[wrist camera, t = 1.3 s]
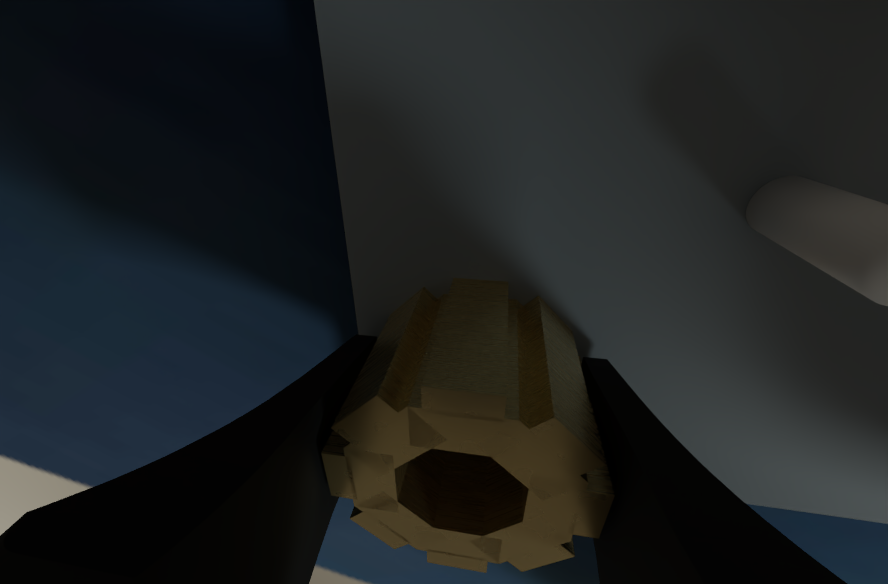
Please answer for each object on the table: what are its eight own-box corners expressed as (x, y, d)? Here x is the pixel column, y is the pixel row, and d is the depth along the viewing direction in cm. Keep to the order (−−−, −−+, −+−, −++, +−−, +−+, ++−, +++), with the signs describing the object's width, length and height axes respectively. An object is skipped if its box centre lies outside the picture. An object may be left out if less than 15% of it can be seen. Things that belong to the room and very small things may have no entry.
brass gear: (595, 288, 9) (646, 413, 6) (559, 442, 12) (579, 589, 8) (375, 272, 10) (302, 372, 6) (389, 420, 13) (343, 547, 9)
